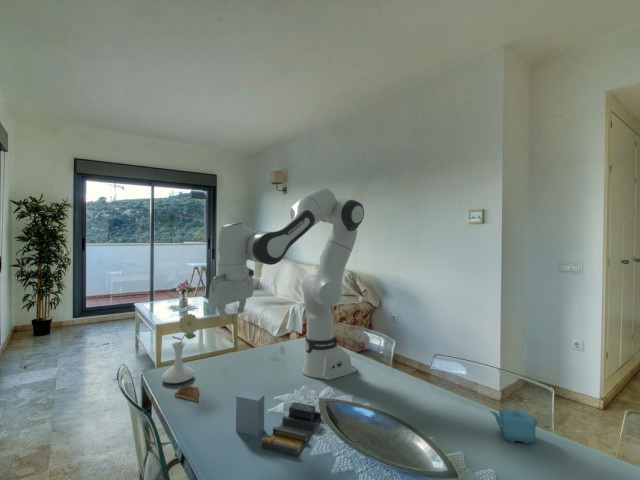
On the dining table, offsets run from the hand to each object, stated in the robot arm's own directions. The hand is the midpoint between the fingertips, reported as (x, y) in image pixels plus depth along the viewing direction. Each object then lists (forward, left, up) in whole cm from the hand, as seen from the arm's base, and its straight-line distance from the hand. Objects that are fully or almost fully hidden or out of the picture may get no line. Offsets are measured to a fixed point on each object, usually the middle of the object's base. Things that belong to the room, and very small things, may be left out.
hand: (232, 315), depth 109 cm
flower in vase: (+14, -28, -30) cm, 43 cm away
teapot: (-68, +49, -30) cm, 89 cm away
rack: (-13, +22, -29) cm, 39 cm away
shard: (+11, -14, -30) cm, 35 cm away
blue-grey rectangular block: (-2, +16, -29) cm, 33 cm away
